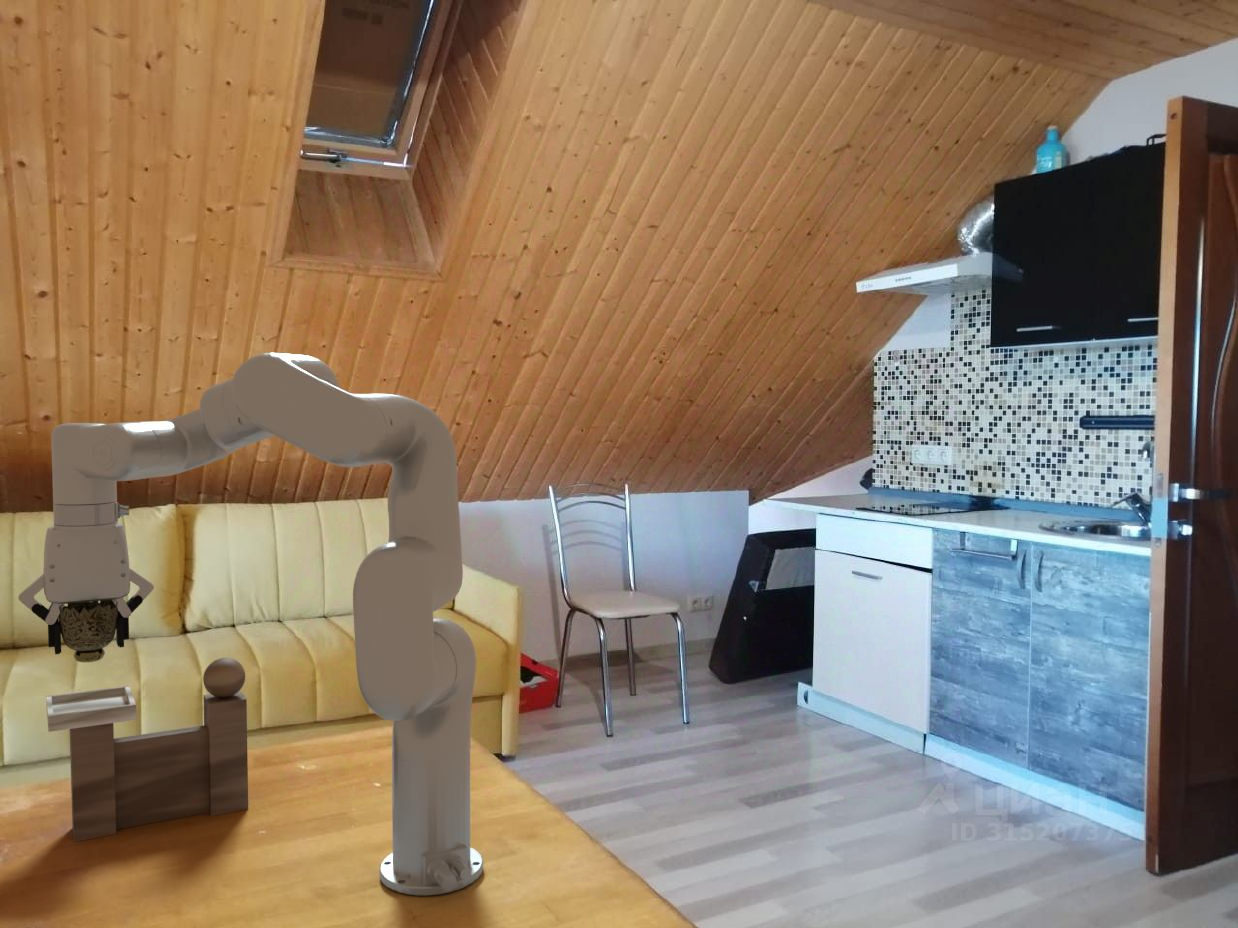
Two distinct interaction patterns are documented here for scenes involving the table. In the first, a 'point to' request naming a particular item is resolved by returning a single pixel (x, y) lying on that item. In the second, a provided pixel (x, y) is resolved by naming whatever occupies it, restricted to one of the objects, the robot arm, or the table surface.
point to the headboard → (154, 757)
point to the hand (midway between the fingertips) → (89, 647)
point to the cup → (88, 628)
